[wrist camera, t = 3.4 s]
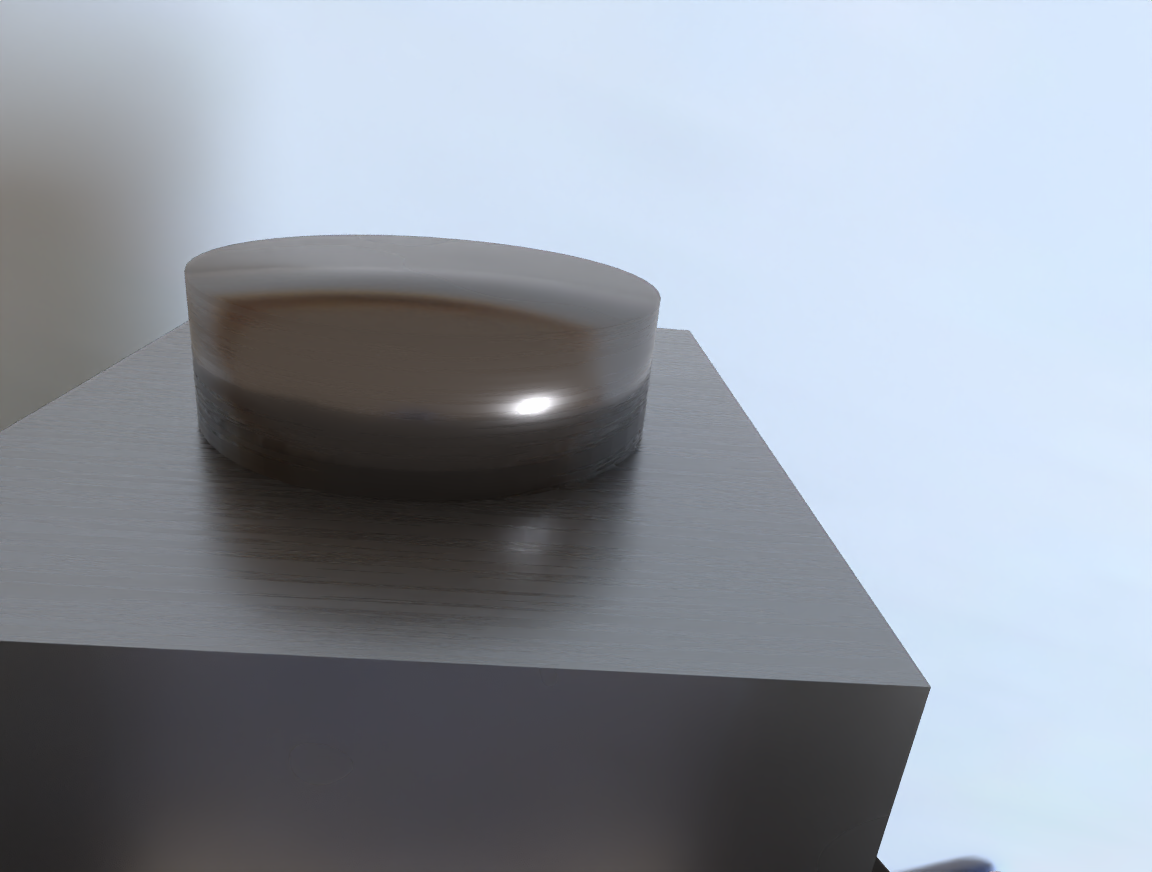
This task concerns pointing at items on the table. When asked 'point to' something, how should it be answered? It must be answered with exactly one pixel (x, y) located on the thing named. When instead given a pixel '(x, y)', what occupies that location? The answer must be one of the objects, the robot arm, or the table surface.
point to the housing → (429, 591)
